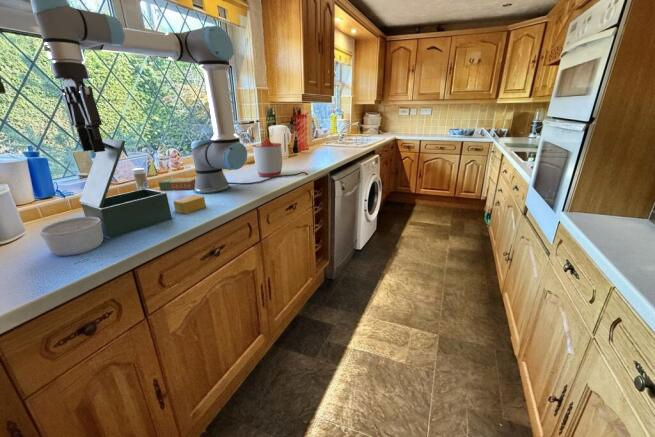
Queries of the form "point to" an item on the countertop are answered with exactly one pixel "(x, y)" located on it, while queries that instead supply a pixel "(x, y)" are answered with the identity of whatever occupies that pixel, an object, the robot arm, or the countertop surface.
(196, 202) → the block
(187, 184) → the carton
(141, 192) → the green lidded box
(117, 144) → the bin lid
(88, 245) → the ramekin
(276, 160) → the citrus juicer
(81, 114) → the robot arm
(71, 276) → the countertop surface
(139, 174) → the sprinkles bottle
